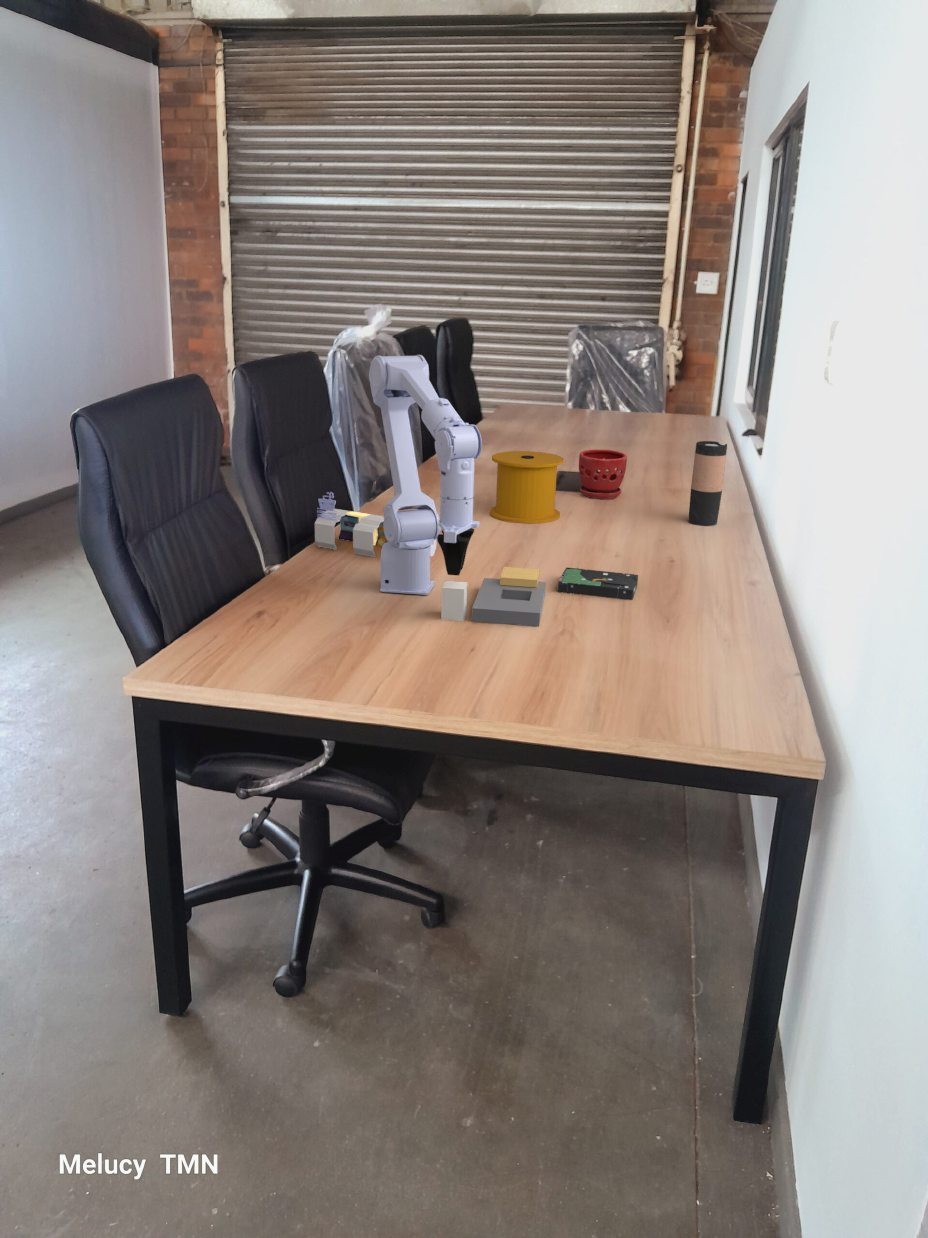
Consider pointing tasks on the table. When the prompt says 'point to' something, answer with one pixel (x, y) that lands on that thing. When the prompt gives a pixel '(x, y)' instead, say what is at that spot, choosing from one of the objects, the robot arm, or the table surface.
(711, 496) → the travel mug
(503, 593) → the socket plate
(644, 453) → the table surface
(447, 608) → the plug
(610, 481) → the plant pot
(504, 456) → the spool
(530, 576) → the yellow flat square block
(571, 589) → the disk drive
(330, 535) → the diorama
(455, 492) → the robot arm
